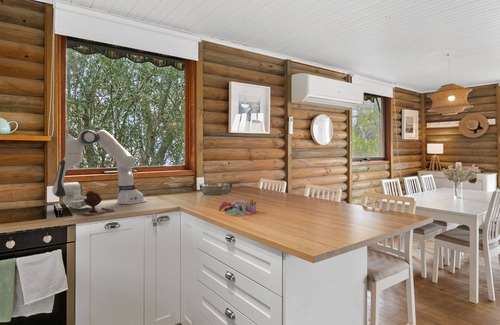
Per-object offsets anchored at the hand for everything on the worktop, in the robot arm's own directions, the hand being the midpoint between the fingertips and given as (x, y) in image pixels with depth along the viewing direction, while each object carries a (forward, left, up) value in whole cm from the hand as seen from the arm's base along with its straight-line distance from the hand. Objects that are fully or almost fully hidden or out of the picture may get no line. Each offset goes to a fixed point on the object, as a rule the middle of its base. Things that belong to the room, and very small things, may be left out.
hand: (89, 203), depth 211 cm
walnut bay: (-3, +7, -6) cm, 9 cm away
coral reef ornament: (-87, +59, -6) cm, 105 cm away
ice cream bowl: (-2, +5, -6) cm, 8 cm away
